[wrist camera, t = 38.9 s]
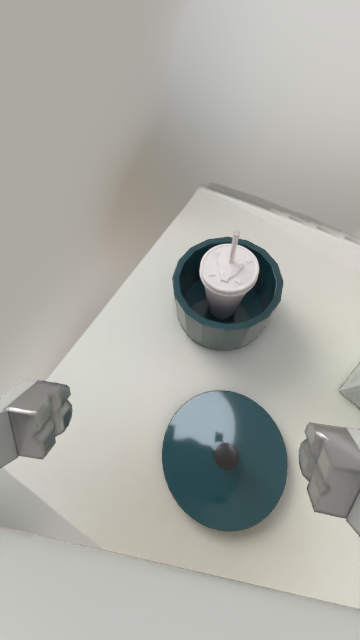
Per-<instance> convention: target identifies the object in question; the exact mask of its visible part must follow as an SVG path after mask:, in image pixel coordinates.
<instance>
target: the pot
mask: <svg viewBox="0 0 360 640" xmlns="http://www.w3.org/2000/svg"><path fill="white" fill-rule="evenodd" d="M232 239H233V238H231V237H223V238H215V239H208V240H206V241H204V242H202V243H200V244H197V245H195V246H193V247H191V248H190V249H189V250H188V251H187V252H186V253H185V254H184V255H183V256H182V257H181V258H180V260H179V261H178V263H177V266H176V269H175V272H174V274H173V278H172V280H173V289H174V297H175V303H176V309H177V315H178V320H179V322H180V324H181V326H182V328H183V330H184V331H185V332H186V334H187V335H188V336H189V337H190V338H191V339H192V340H194V341H195V342H196V343H198V344H200V345H202V346H204V347H206V348H209V349H213V350H221V351H226V350H234V349H238V348H241V347H243V346H245V345H247V344H249V343H250V342H252V341H253V340H255V339H256V338H257V336H258V335H259V334H260V332H261V331H262V329H263V328H264V327H265V325H266V324H267V322H268V320H269V319H270V317H271V316H272V314H273V312H274V311H275V309H276V308H277V306H278V304H279V303H280V301H281V295H282V288H283V279H282V276H281V273H280V270H279V267H278V264H277V263H276V262H275V261H274V259H273V258H272V257H271V256H270V255H269V254H268V253H267V252H266V250H264V249H262V248H260V247H259V246H257V245H255V244H253V243H251V242H249V241H247V240H242V239H238V244H237V245H240V246H243V247H245V248H247V249H248V250H250V251H251V252H252V253H253V254H254V255H255V257H256V258H257V260H258V263H259V274H258V279H257V281H256V283H255V285H254V286H253V287H252V288H251V289H250V290H249V291H248V292H246V294H245V296H244V297H243V299H242V300H241V302H240V304H239V305H238V307H237V308H236V310H235V312H234V313H233V315H232V316H230V317H229V318H227V319H218V318H215V317H214V316H213V315H212V314H211V313H210V311H209V307H208V302H207V296H206V291H205V286H204V284H203V283H202V280H201V278H200V271H199V269H200V263H201V260H202V258H203V256H204V255H205V253H206V252H207V251H208V250H210V249H211V248H213V247H215V246H218V245H221V244H232Z"/></svg>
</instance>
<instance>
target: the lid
mask: <svg viewBox="0 0 360 640" xmlns="http://www.w3.org/2000/svg"><path fill="white" fill-rule="evenodd" d="M162 463H163V471H164V475H165V479H166V482H167V484H168V487H169V489H170V491H171V493H172V495H173V497H174V498H175V500H176V501H177V503H178V504H179V506H180V507H181V508H182V509H183V510H184V511H185V512H186V513H187V514H188V515H189V516H190V517H192V518H193V519H194V520H196V521H197V522H199V523H201V524H203V525H205V526H207V527H209V528H213V529H216V530H221V531H238V530H243V529H246V528H249V527H252V526H254V525H255V524H257V523H259V522H261V521H262V520H263V519H264V518H266V517H267V516H268V515H269V514H270V513H271V512H272V510H273V509H274V508H275V506H276V505H277V503H278V502H279V500H280V498H281V496H282V493H283V490H284V487H285V484H286V478H287V468H288V464H287V454H286V448H285V444H284V441H283V438H282V436H281V433H280V431H279V429H278V427H277V426H276V424H275V422H274V421H273V419H272V418H271V417H270V415H269V414H268V413H267V412H266V411H265V410H264V409H263V408H262V407H261V406H260V405H258V404H257V403H256V402H254V401H253V400H251V399H250V398H248V397H246V396H244V395H241V394H238V393H235V392H230V391H210V392H206V393H203V394H200V395H197V396H195V397H193V398H192V399H190V400H189V401H187V402H186V403H185V404H184V405H183V406H181V408H180V409H179V410H178V411H177V412H176V413H175V415H174V416H173V418H172V419H171V421H170V423H169V425H168V428H167V430H166V433H165V437H164V441H163V448H162Z"/></svg>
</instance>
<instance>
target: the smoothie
mask: <svg viewBox="0 0 360 640" xmlns="http://www.w3.org/2000/svg"><path fill="white" fill-rule="evenodd" d="M239 234H240V233H239V232H238V231H235V232H234V233H233V239H232V244H221V245H218V246H215V247H213V248H211V249H210V250H208V251H207V252H206V253H205V255H204V256H203V258H202V260H201V263H200V269H199V271H200V278H201V280H202V283H203V284H204V286H205V291H206V296H207V302H208V307H209V311H210V313H211V314H212V315H213V316H214V317H215V318H218V319H227V318H229V317H230V316H232V315H233V313H234V312H235V310H236V308H237V307H238V305H239V304H240V302H241V300H242V299H243V297H244V296H245V294H246V292H248V291H249V290H250V289H251V288H252V287H253V286H254V285H255V283H256V281H257V279H258V274H259V263H258V260H257V258H256V257H255V255H254V254H253V253H252V252H251V251H250V250H248V249H247V248H245V247H243V246H240V245H237V244H238V239H239Z"/></svg>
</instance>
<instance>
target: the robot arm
mask: <svg viewBox="0 0 360 640" xmlns="http://www.w3.org/2000/svg"><path fill="white" fill-rule="evenodd" d="M70 395H71V394H70V388H69V386H67V385H64V384H59V383H53V382H47V381H40V380H35V379H24V380H22V381H21V382H20V383H19V384H17V385H16V386H15V387H14V388H12V389H11V390H10V391H8V392H7V393H6V394H5V395H4V396H2V397H1V398H0V468H2V467H3V466H5V465H7V464H8V463H10V462H11V461H13V460H14V459H16V458H17V457H18V456H24V457H30V458H37V459H44V457H45V456H46V455H47V453H48V452H49V451H50V450H51V448H52V447H53V446H54V444H55V443H56V441H55V437H56V436H58V435H59V434H61V433H63V432H64V431H65V429H66V428H67V427H68V425H69V422H70V420H71V417H72V405H71V403H70V402H69V401H68V400H67V399H68V397H69V396H70ZM305 434H306V437H307V439H306V440H304V441H303V442H301V445H300V449H299V465H300V469H301V472H302V475H303V476H304V477H305V478H306V479H307V480H308V481H309V484H308V486H307V491H308V494H309V497H310V500H311V503H312V506H313V509H314V512H318V513H323V514H327V515H332V516H336V517H341V518H345V519H346V521H347V522H348V523H349V524H350V526H351V527H352V528H353V529H354V530H355V532H356V533H357V534H358V535H359V536H360V429H355V428H347V427H337V426H331V425H324V424H317V423H310V422H309V423H308V425H307V426H306V429H305ZM0 640H360V609H357V608H353V607H349V606H344V605H340V604H336V603H331V602H327V601H322V600H318V599H314V598H309V597H305V596H301V595H296V594H292V593H288V592H283V591H279V590H275V589H270V588H266V587H262V586H257V585H253V584H248V583H244V582H240V581H235V580H231V579H227V578H222V577H218V576H214V575H209V574H205V573H201V572H196V571H192V570H188V569H183V568H179V567H175V566H170V565H166V564H162V563H157V562H153V561H149V560H144V559H140V558H136V557H131V556H127V555H123V554H118V553H114V552H110V551H105V550H101V549H96V548H92V547H88V546H84V545H79V544H75V543H70V542H66V541H62V540H57V539H53V538H48V537H44V536H40V535H36V534H31V533H27V532H23V531H18V530H13V529H9V528H5V527H1V526H0Z"/></svg>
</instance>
